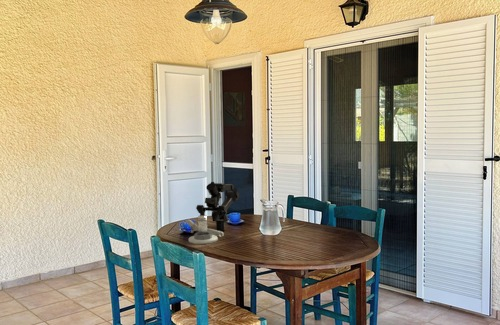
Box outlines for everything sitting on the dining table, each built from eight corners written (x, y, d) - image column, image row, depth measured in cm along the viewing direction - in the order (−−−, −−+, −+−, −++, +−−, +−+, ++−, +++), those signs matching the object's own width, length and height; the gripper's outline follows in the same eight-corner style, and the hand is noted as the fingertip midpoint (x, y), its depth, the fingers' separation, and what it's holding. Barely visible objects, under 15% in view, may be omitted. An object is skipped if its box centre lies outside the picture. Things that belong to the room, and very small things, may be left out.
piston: (204, 236, 275) (203, 214, 274) (209, 237, 271) (208, 216, 270) (196, 237, 272) (196, 216, 271) (202, 239, 268) (201, 217, 267)
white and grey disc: (194, 236, 282) (194, 230, 281) (221, 237, 278) (220, 230, 278) (184, 243, 265) (184, 236, 265) (212, 244, 261) (212, 237, 261)
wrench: (221, 241, 279) (183, 231, 295) (223, 241, 281) (185, 230, 296) (222, 228, 278) (184, 219, 293) (224, 228, 280) (185, 218, 295)
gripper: (196, 192, 285) (189, 212, 275) (224, 192, 278) (218, 214, 269) (202, 202, 293) (195, 223, 283) (229, 203, 286) (223, 224, 277)
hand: (207, 221), depth 278 cm, fingers open, 9 cm apart
